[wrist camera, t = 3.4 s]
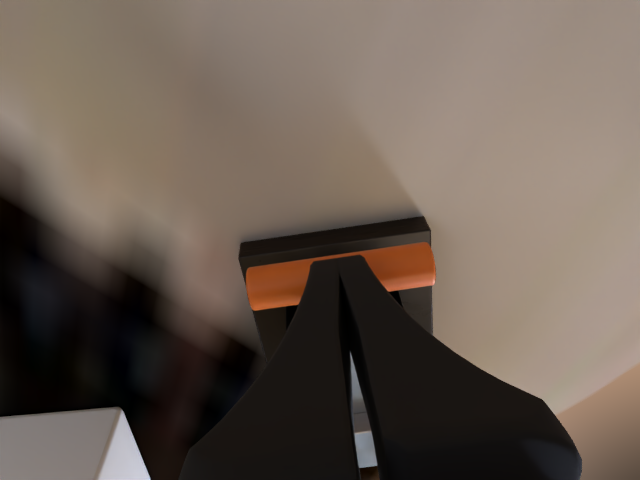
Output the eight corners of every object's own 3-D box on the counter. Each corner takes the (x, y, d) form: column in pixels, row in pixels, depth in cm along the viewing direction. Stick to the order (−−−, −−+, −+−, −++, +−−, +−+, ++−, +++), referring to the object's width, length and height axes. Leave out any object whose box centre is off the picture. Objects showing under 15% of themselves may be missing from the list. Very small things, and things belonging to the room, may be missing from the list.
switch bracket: (240, 242, 22) (219, 379, 15) (424, 215, 21) (486, 342, 15) (280, 397, 27) (278, 550, 20) (428, 377, 27) (475, 524, 20)
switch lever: (246, 244, 14) (243, 308, 12) (420, 218, 14) (443, 280, 12) (298, 417, 21) (302, 476, 19) (417, 401, 21) (431, 458, 19)
